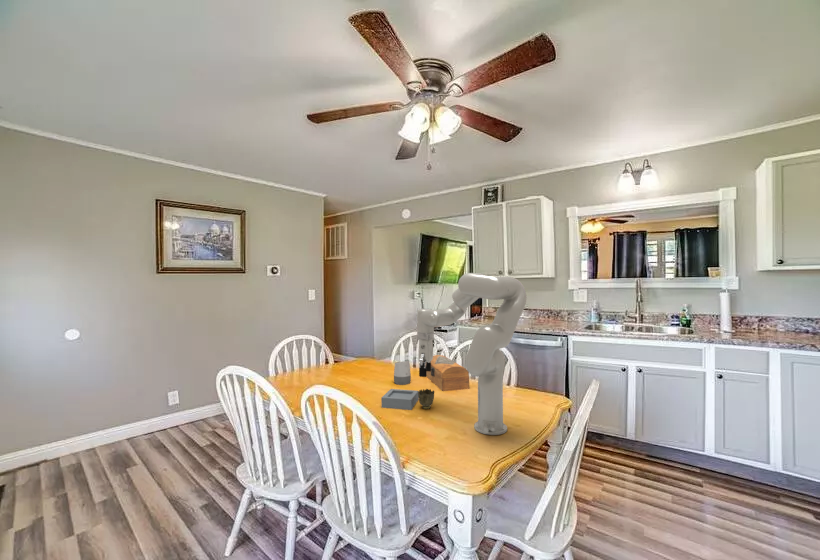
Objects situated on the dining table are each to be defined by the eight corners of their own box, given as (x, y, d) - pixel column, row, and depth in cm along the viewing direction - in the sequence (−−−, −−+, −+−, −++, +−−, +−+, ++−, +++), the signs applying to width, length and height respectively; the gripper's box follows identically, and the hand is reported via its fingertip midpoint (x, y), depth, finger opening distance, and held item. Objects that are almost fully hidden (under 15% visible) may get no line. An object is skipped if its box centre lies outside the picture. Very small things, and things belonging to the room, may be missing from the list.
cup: (414, 408, 167) (414, 390, 167) (426, 404, 172) (426, 387, 172) (425, 412, 161) (425, 394, 161) (437, 409, 166) (437, 391, 166)
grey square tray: (411, 411, 164) (411, 399, 164) (381, 409, 168) (381, 397, 168) (418, 401, 178) (418, 390, 178) (390, 399, 182) (390, 388, 182)
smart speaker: (404, 381, 212) (404, 357, 212) (414, 385, 204) (413, 360, 204) (390, 384, 206) (390, 359, 206) (399, 388, 199) (399, 362, 199)
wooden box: (423, 379, 218) (423, 355, 218) (450, 377, 222) (450, 354, 222) (439, 394, 189) (439, 367, 189) (469, 391, 192) (469, 365, 192)
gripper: (429, 339, 158) (429, 379, 158) (437, 333, 174) (436, 369, 175) (412, 338, 160) (412, 378, 160) (421, 332, 176) (421, 368, 177)
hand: (425, 373), depth 167 cm, fingers open, 9 cm apart
